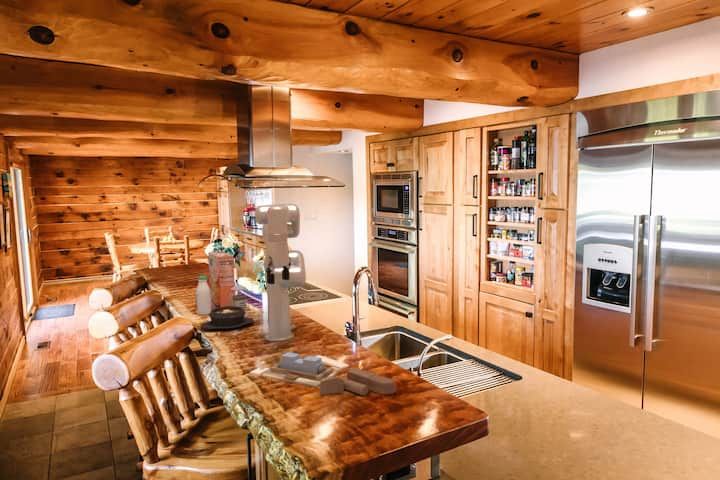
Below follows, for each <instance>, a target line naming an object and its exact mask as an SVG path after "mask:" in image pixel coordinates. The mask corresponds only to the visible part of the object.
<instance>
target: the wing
mask: <svg viewBox="0 0 720 480" xmlns="http://www.w3.org/2000/svg"><path fill="white" fill-rule="evenodd" d="M314 357H319V358H321V362H323V365H327V366H330V367H331V368H334V369H339V370H343V369H345V368H349V366H350V364H349V363H348V364H347V363H345V362H343V361H342V362H341V361H338V360H335V359H332V358H330V357H327V356H323V355H320V354H318V355H315V356H314Z"/></svg>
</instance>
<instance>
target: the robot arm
mask: <svg viewBox="0 0 720 480" xmlns="http://www.w3.org/2000/svg"><path fill="white" fill-rule="evenodd" d="M300 212H301V211H300V208H299V206H297V204H295V203H274V204H266V205H265V204H264V205H263V204H262V205H257V206H256V208H255V213H254V219H255V221H256V223H257V224H258V225H262V226H261V233H262V239H263V242H264V244H265V256H264V257H265V258H264V262H263V263H262V265H263V268H264V271H265V272H264V279H265V285H266V297H267V327H268V328H267V329H268V331H267V332H268V333H266V334H265V335H264V339H265V340H267V341H269V342H285V341H290V340H292V339H293V338H294V337H295V333H294V332H292V331H293V330H294V329H296V327H297V326H296V325H295V324H291V305H290V304H291V303H290V302H291V300H290V299H291V298H290V295H289V293H288V292H286V290H285V289H286V288H300V287H303V286H304V285H305V284H306V280H307V279H306V278H307V274H306V273H307V272H306V267H305V265H306V264H305V257H304V255H303V253H302V252H301V251H300V250H295V249H293V250H289V243H288V239H295V238H298V236H299V235H300V230H301V228H300V227H301V213H300Z"/></svg>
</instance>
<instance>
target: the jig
mask: <svg viewBox="0 0 720 480" xmlns="http://www.w3.org/2000/svg"><path fill="white" fill-rule="evenodd" d="M324 367H325V371H323V372H322V373H320V374H319V375H316V374H311V373H306V372H301V371H295V370H290V369H285V368H280V362H279V363H277V364H275V365H273V366H271V367H270V371H268V372H266V373H264V374H262V375H261V376H262V377H264V378H269V379H273V380H279V381H284V382H288V383H293V384H298V385H303V386H308V387H312V388H318V387H320V381H323V380H325V379H328V378H330V377H335V376H336V375H338V374H339V373H340V372H341V371H342V369H338V368H335V367H328V366H324Z"/></svg>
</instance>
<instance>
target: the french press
mask: <svg viewBox="0 0 720 480" xmlns="http://www.w3.org/2000/svg"><path fill="white" fill-rule="evenodd" d="M240 269H241V268H240V267H239V266H238V267H236V268H235V270H237V271H239V270H240ZM231 290H232V291H235V292H237V293H238V294H235V295H233V293H232V298H233V299H231V305H230V306H237V307H242V308H243V309H244V311H245V312H246V314H245V315H244V317H247V316H248V315H250V313H249V312H248V311H247V307H248V306H247V298H246V295H245V294H240V292H239V291H245V290H247V287H246V286H245V285H244V286H243V285H239V282H237V285H235V286H234V287H232V288H231ZM230 295H231V294H230ZM229 298H230V296H229ZM233 301H235V302H233ZM229 304H230V301H229ZM234 304H235V305H234Z"/></svg>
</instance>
